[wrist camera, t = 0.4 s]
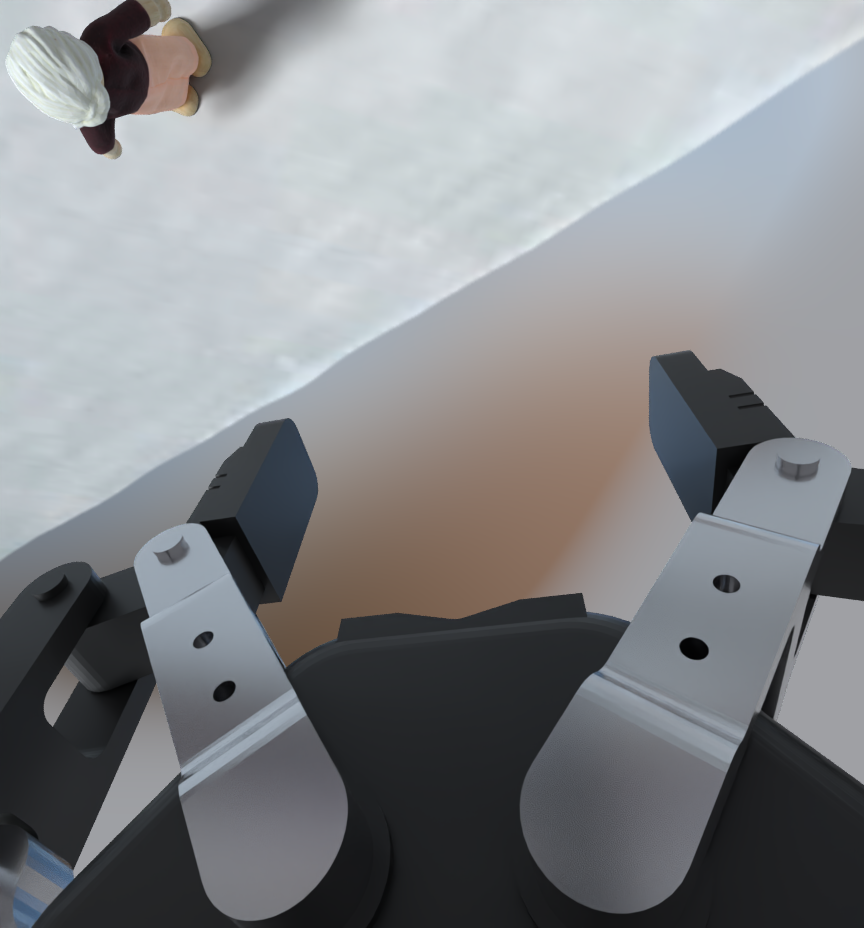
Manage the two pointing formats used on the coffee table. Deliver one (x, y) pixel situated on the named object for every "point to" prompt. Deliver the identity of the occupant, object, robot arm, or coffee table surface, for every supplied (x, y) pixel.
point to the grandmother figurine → (110, 70)
